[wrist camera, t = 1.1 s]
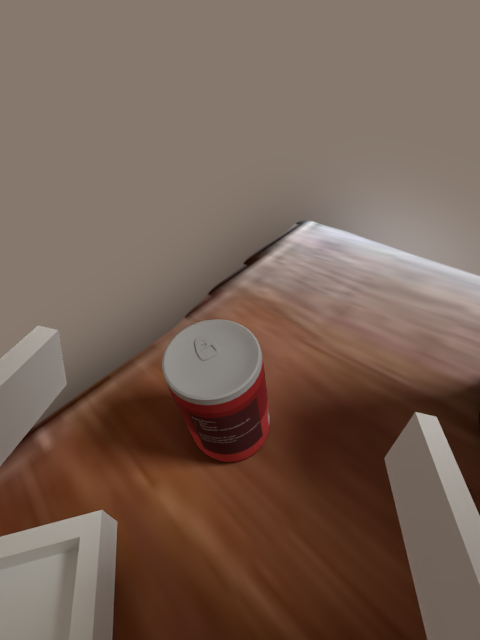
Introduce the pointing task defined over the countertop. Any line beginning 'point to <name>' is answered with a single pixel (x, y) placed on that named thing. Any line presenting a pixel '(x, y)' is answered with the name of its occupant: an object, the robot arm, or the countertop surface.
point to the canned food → (219, 388)
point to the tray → (59, 580)
